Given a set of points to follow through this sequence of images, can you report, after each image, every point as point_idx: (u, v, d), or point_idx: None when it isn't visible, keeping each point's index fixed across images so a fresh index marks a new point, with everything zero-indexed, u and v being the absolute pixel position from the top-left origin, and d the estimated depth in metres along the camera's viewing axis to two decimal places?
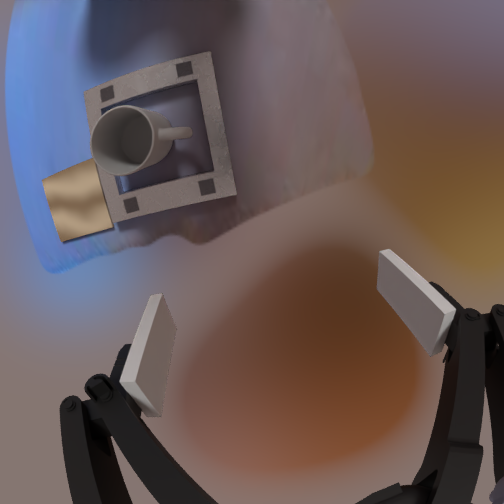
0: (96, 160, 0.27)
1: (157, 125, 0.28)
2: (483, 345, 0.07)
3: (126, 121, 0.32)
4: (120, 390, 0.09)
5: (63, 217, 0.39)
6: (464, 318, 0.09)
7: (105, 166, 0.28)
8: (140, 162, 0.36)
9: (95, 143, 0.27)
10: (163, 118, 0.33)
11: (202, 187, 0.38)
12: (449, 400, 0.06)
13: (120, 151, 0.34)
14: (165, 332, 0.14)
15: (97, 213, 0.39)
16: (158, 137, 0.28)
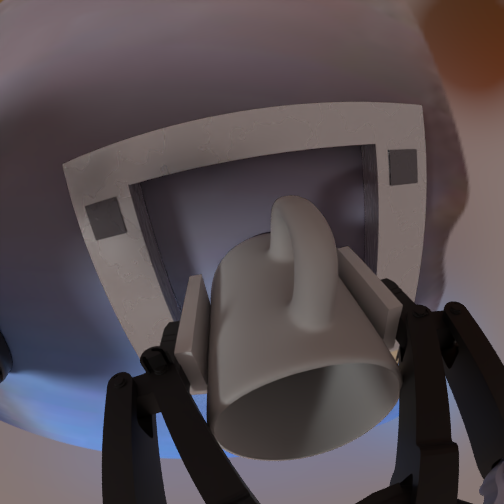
0: (334, 445, 0.11)
1: (280, 325, 0.09)
2: (436, 340, 0.08)
3: None
4: None
5: None
6: (412, 316, 0.10)
7: (351, 424, 0.11)
8: None
9: (292, 443, 0.12)
10: (236, 264, 0.15)
11: (403, 178, 0.15)
12: (410, 401, 0.07)
13: None
14: (205, 311, 0.15)
15: None
16: (327, 329, 0.09)
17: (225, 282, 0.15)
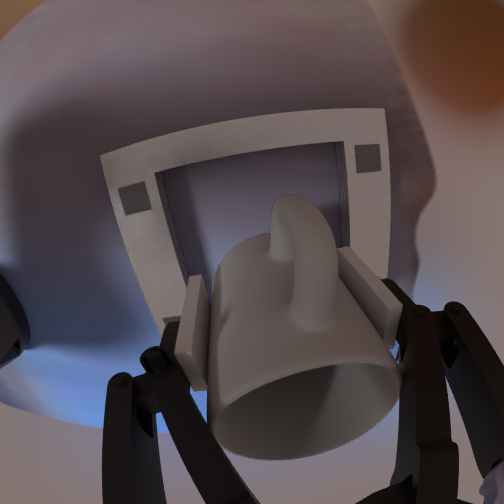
0: (334, 445, 0.11)
1: (280, 325, 0.09)
2: (436, 340, 0.08)
3: None
4: None
5: None
6: (412, 316, 0.10)
7: (351, 424, 0.11)
8: None
9: (292, 443, 0.12)
10: (236, 264, 0.15)
11: (368, 167, 0.19)
12: (410, 402, 0.07)
13: None
14: (206, 311, 0.15)
15: None
16: (327, 329, 0.09)
17: (225, 282, 0.15)
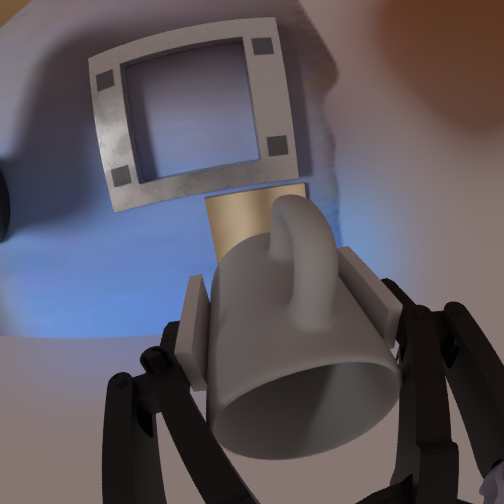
0: (334, 445, 0.11)
1: (279, 324, 0.09)
2: (436, 340, 0.08)
3: None
4: None
5: None
6: (412, 316, 0.10)
7: (351, 424, 0.11)
8: None
9: (292, 442, 0.12)
10: (235, 263, 0.15)
11: (263, 51, 0.24)
12: (410, 402, 0.07)
13: None
14: (205, 311, 0.15)
15: None
16: (327, 328, 0.09)
17: (225, 281, 0.15)
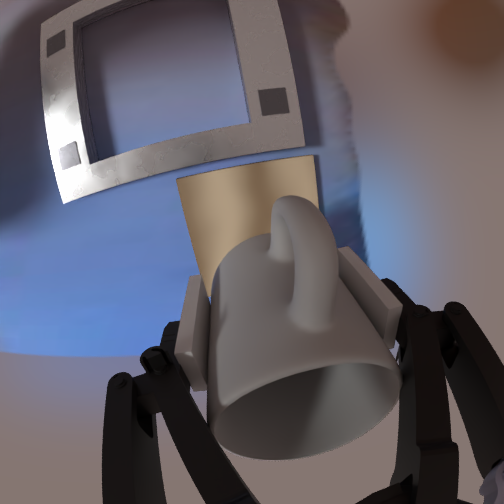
0: (334, 445, 0.11)
1: (280, 325, 0.09)
2: (436, 340, 0.08)
3: None
4: None
5: None
6: (412, 316, 0.10)
7: (351, 424, 0.11)
8: None
9: (292, 443, 0.12)
10: (236, 264, 0.15)
11: None
12: (410, 402, 0.07)
13: None
14: (205, 311, 0.15)
15: (283, 182, 0.23)
16: (327, 329, 0.09)
17: (225, 282, 0.15)
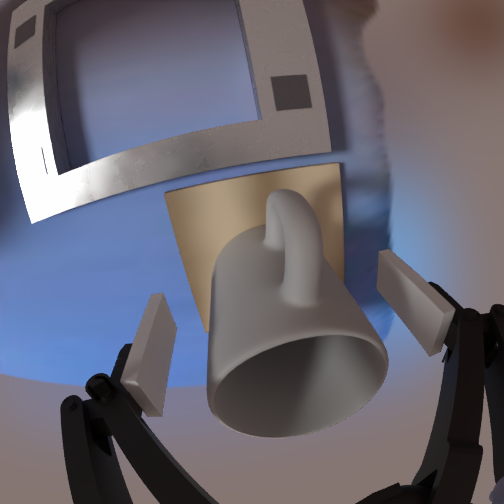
0: (327, 424, 0.12)
1: (272, 302, 0.11)
2: (482, 345, 0.07)
3: None
4: (121, 390, 0.09)
5: None
6: (463, 318, 0.09)
7: (343, 403, 0.13)
8: None
9: (287, 422, 0.13)
10: (234, 253, 0.16)
11: None
12: (448, 400, 0.06)
13: None
14: (166, 332, 0.14)
15: None
16: (314, 305, 0.10)
17: (224, 269, 0.16)
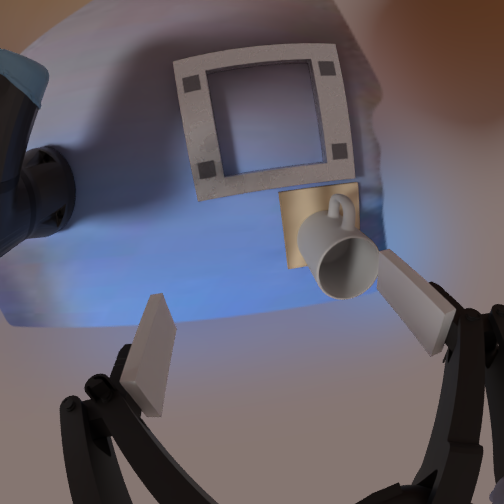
0: (359, 293, 0.32)
1: (339, 230, 0.30)
2: (483, 345, 0.07)
3: None
4: (120, 390, 0.09)
5: None
6: (464, 318, 0.09)
7: (364, 284, 0.32)
8: (348, 245, 0.39)
9: (341, 293, 0.33)
10: (314, 220, 0.36)
11: (327, 73, 0.29)
12: (449, 400, 0.06)
13: (336, 264, 0.39)
14: (165, 332, 0.14)
15: None
16: (353, 230, 0.30)
17: (310, 227, 0.36)
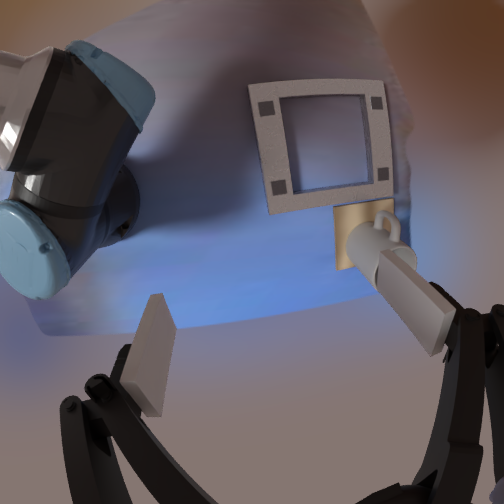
0: None
1: (388, 241, 0.37)
2: (483, 345, 0.07)
3: None
4: (120, 390, 0.09)
5: None
6: (464, 318, 0.09)
7: None
8: None
9: None
10: (362, 231, 0.43)
11: (377, 107, 0.35)
12: (449, 400, 0.06)
13: None
14: (165, 332, 0.14)
15: None
16: (399, 241, 0.36)
17: (361, 236, 0.42)
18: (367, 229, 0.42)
